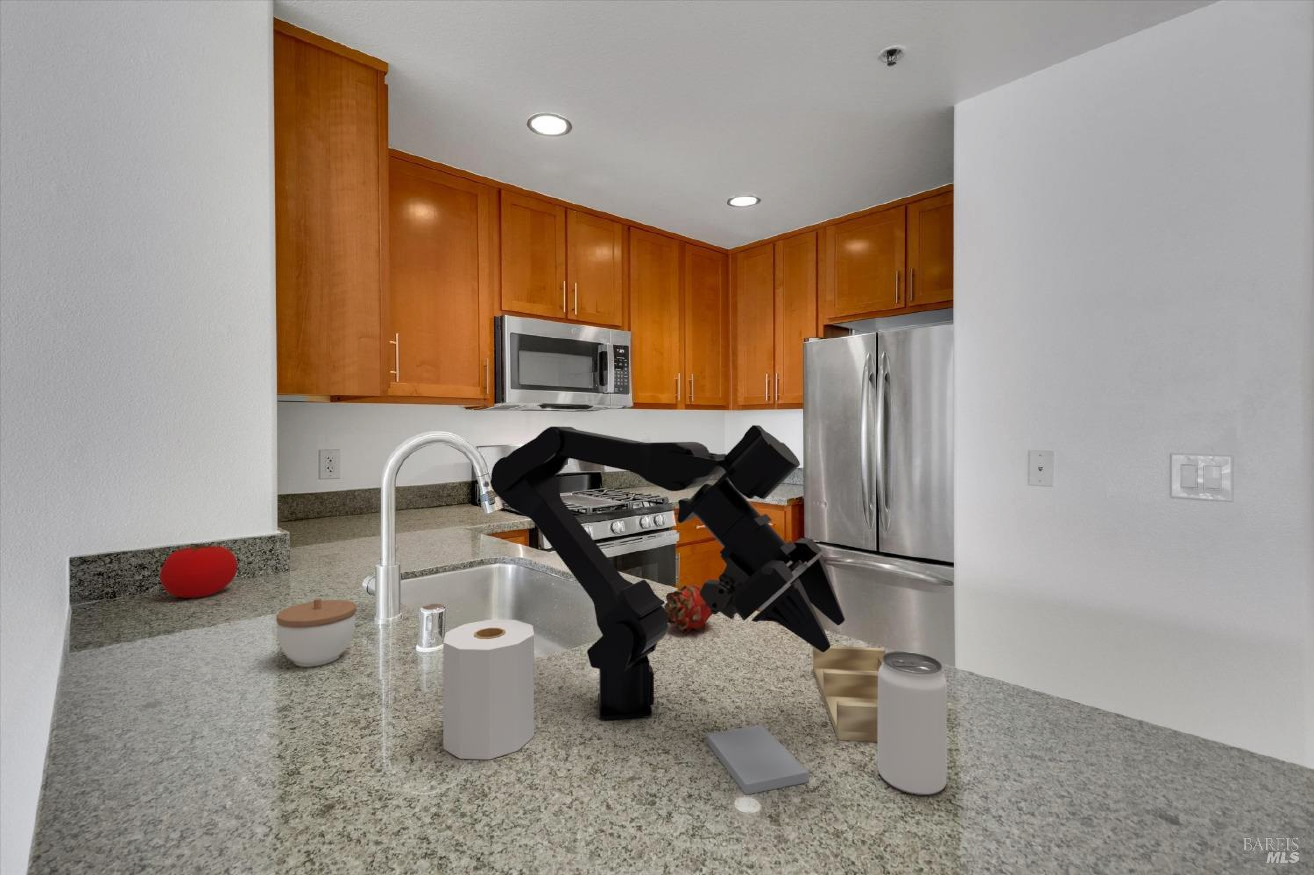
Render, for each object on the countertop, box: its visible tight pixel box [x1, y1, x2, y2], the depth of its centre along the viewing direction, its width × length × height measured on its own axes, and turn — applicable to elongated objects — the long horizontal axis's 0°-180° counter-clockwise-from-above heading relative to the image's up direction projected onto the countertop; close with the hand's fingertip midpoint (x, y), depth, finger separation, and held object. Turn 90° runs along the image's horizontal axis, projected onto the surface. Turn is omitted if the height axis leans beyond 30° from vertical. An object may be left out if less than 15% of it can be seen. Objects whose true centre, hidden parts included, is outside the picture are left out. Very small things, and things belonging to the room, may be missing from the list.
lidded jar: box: [276, 597, 357, 668], centre depth 90 cm, size 11×11×9 cm
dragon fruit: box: [663, 584, 713, 634], centre depth 105 cm, size 8×8×12 cm
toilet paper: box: [442, 619, 535, 760], centre depth 68 cm, size 10×10×12 cm
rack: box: [812, 645, 886, 743], centre depth 76 cm, size 10×19×4 cm, turn 174°
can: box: [877, 650, 948, 797], centre depth 60 cm, size 6×6×12 cm
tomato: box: [159, 543, 239, 599], centre depth 126 cm, size 12×13×11 cm
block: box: [706, 724, 810, 796], centre depth 63 cm, size 7×10×1 cm
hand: (835, 635), depth 63 cm, fingers open, 9 cm apart
